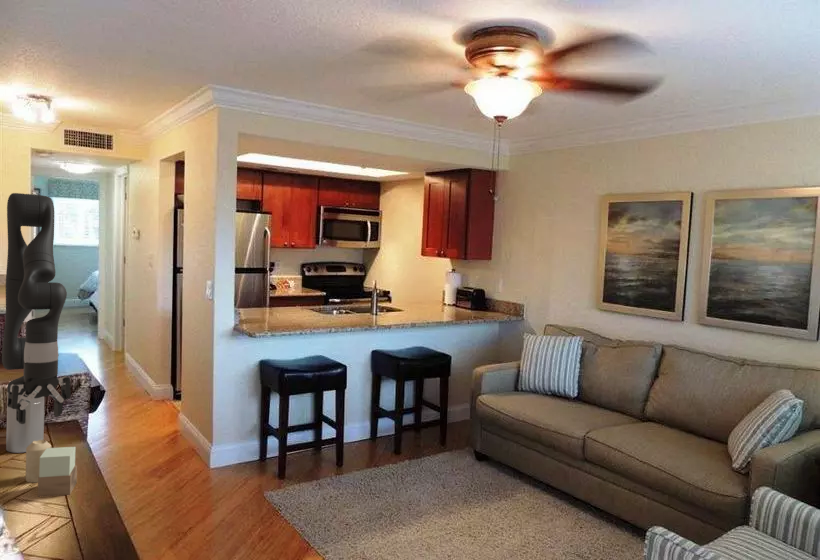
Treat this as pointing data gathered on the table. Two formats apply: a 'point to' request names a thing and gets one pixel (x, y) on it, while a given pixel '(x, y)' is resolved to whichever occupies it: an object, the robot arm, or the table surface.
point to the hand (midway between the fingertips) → (39, 419)
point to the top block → (57, 462)
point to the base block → (57, 484)
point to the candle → (34, 459)
